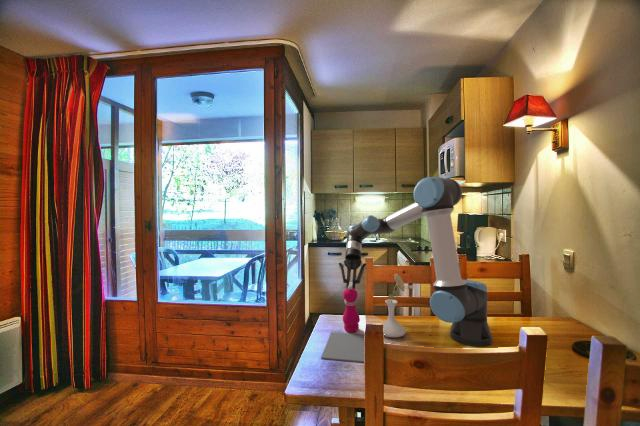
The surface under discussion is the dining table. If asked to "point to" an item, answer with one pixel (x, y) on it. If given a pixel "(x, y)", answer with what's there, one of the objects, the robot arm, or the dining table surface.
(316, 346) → the dining table surface
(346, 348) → the mat
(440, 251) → the robot arm
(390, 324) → the flower in vase
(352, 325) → the pepper mill
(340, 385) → the dining table surface
